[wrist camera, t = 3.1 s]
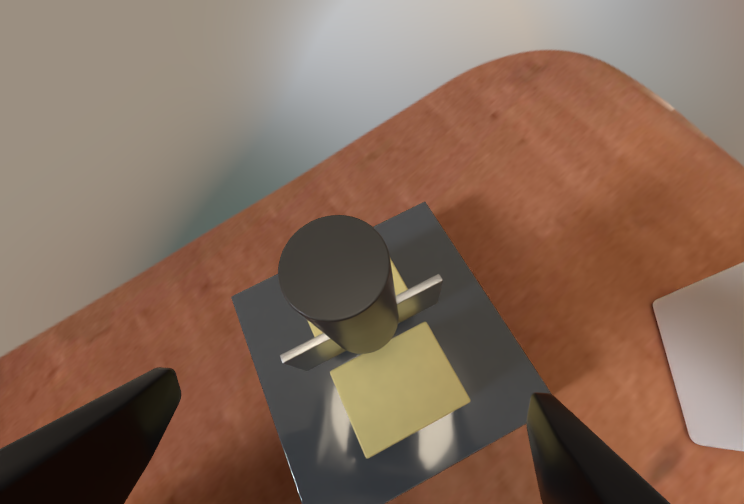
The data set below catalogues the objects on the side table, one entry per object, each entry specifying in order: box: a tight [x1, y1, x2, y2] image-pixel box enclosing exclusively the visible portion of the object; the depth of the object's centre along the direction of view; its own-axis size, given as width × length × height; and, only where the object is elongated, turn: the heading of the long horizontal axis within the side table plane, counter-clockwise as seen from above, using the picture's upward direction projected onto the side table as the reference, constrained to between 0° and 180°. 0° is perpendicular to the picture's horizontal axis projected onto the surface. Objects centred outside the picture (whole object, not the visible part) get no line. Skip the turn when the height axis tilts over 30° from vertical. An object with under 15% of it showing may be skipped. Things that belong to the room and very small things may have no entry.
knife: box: [278, 215, 443, 371], centre depth 11 cm, size 2×6×8 cm, turn 116°
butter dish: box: [231, 202, 551, 504], centre depth 19 cm, size 12×12×3 cm
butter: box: [308, 258, 470, 458], centre depth 17 cm, size 8×4×3 cm, turn 26°
